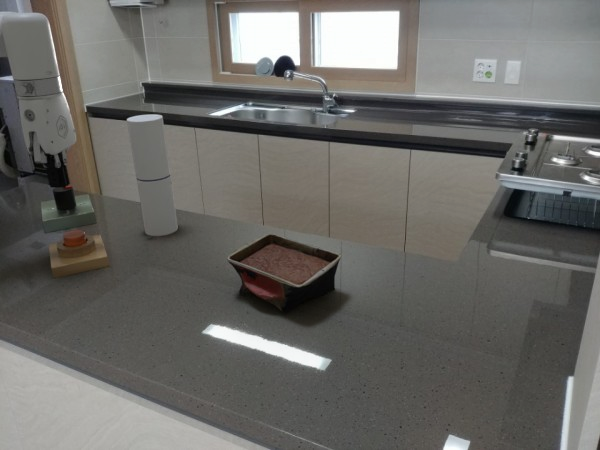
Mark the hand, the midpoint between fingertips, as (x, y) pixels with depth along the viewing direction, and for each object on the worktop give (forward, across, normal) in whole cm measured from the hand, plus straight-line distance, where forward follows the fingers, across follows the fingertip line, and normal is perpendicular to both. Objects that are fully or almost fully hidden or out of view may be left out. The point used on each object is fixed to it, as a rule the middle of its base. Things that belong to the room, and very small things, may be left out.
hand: (60, 185), depth 102 cm
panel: (+16, +21, +12) cm, 29 cm away
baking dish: (+15, -13, -44) cm, 48 cm away
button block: (+15, -1, -1) cm, 15 cm away
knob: (+13, +21, +12) cm, 27 cm away
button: (+12, -1, -1) cm, 12 cm away
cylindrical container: (+15, +14, -13) cm, 25 cm away
